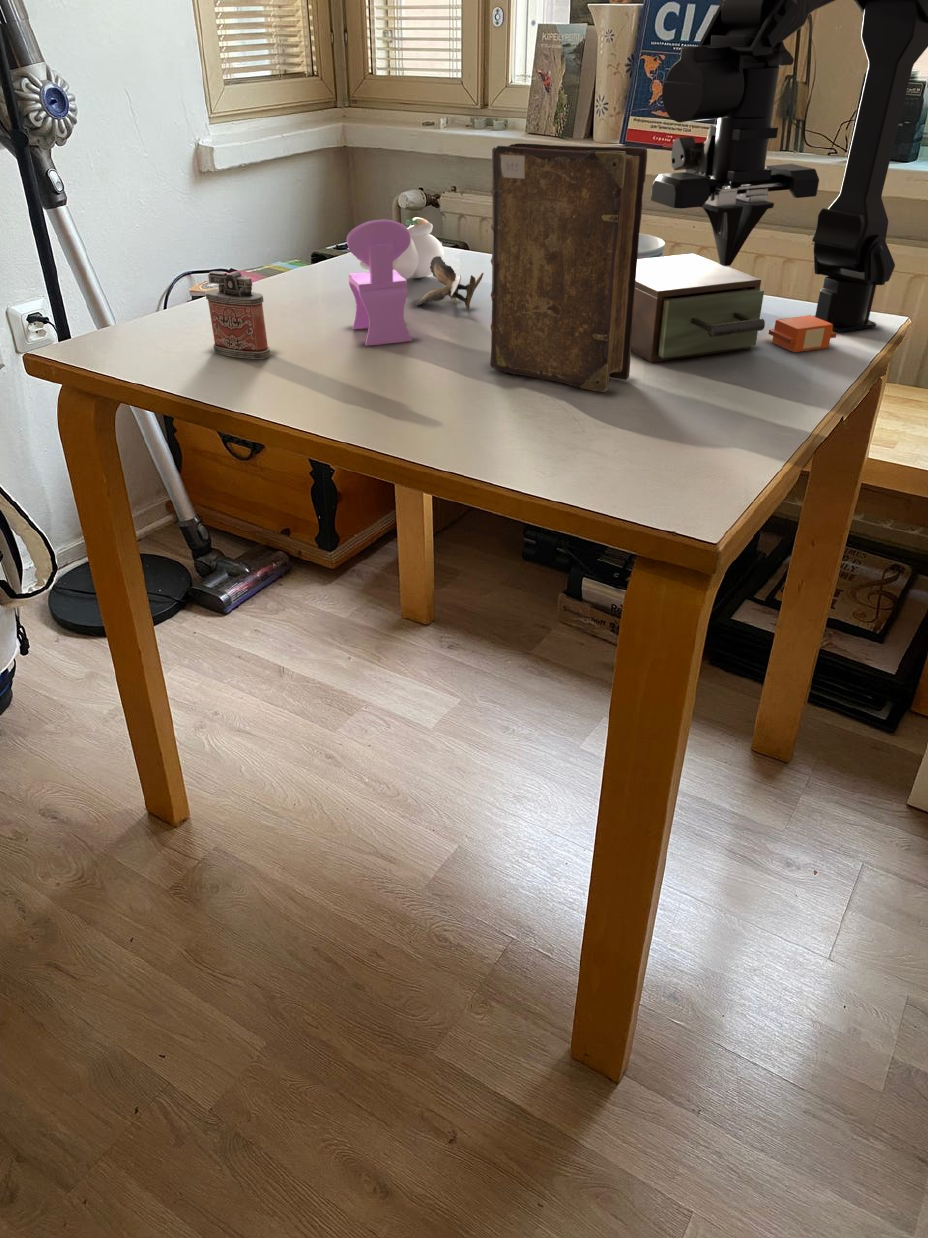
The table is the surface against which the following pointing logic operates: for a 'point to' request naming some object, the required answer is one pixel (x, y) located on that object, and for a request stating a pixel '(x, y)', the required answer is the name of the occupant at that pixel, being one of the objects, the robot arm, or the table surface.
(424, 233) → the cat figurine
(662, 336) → the drawer
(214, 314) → the lighter
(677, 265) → the cabinet
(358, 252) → the toy chair
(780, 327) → the orange box
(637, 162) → the book
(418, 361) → the table surface
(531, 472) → the table surface
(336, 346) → the table surface
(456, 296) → the eagle figurine
